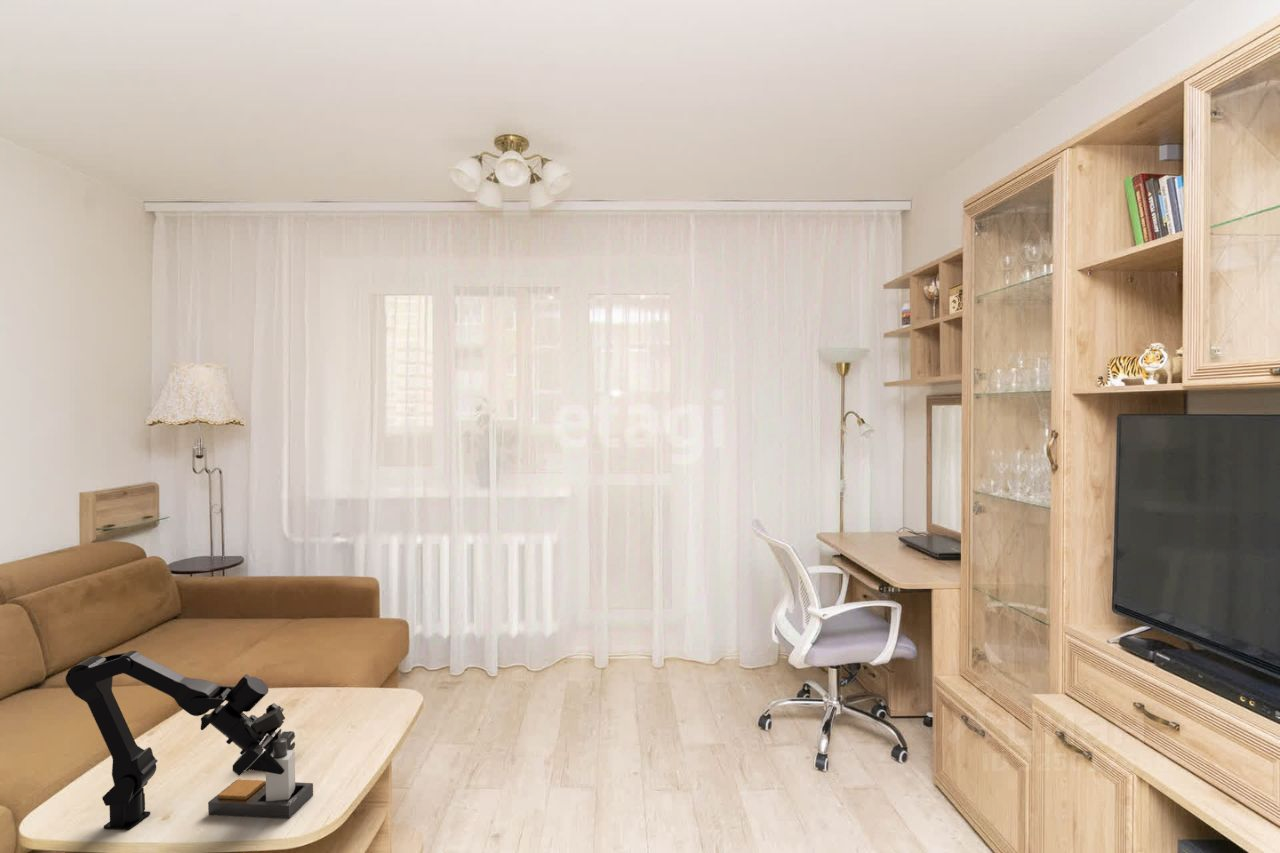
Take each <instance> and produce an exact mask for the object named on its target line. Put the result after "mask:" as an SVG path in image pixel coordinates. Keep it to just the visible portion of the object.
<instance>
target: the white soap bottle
mask: <svg viewBox="0 0 1280 853" xmlns="http://www.w3.org/2000/svg"><path fill="white" fill-rule="evenodd" d="M295 753H296V752H295V749H293V750H287V739H286V738H280V739H277V740H275V741H273V752H272V753H271V754H270V755H271V756H272V757H273V758H274V759H275V760H276V761H277V762H278V763H279V764H280V765H281V767H282V768H283V769H284V772H283V773H282V774H281V775H280V774H275V773H269V772H265V781H266V802H267V801H277V800H288V799H289V798H290V797H291V795H292V793H293V791H294V790H295V782H296V762H295V761H296V756H295Z"/></svg>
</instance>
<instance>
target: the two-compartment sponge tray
mask: <svg viewBox="0 0 1280 853" xmlns="http://www.w3.org/2000/svg"><path fill="white" fill-rule="evenodd" d="M313 796H314V783H313V782H297V781H295V790H294V791H293V793H292V795H291V797H290V798H289V799H288V800H277V801H267V802H266V779H265V780H264V779H242V778H241V779H240V778H239V779H236V780H234V781H233V782H232V783H231V784H229V785H228V786H227V787H225V788H224V789H223V790H222V791H221V792H220V793H218V794H216V795H215V796H214V797H212V798H211V799H210V800H209V801H207V802H208V803H207V805H208V806H207V808H208V816H221V817H222V816H223V817H225V816H227V817H245V818H246V817H247V818H248V817H249V818H264V819H265V818H268V819H269V818H270V819H286V820H287V819H289V820H290V818H292V816H294V814H296V813H297V812H298V811H299V810H300V809H301V808H302V807H303V806H304V805H305V804H306V803H307V802H308V801H310V799H311V798H312V797H313Z"/></svg>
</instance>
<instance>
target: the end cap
mask: <svg viewBox="0 0 1280 853" xmlns="http://www.w3.org/2000/svg"><path fill="white" fill-rule="evenodd" d="M295 737H296V734H295V732H294V731H293V730H292V731H291V730H289V731H285V730H284V731H281V736H280V738H286V739H287V750H295V747H296V743H295V741H293V740H294V739H296V738H295ZM292 741H293V742H292Z"/></svg>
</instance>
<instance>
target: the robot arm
mask: <svg viewBox="0 0 1280 853" xmlns="http://www.w3.org/2000/svg"><path fill="white" fill-rule="evenodd" d="M122 674H124V675H127V676H129V677H131V678H133V679H135V680H137V681H139V682H140V683H142V684H145V685H146V686H149V687H151V688H153V689H155V690H156V691H157V690H158V691H159V692H161V693H163V694H166V695H168V696H170V697H171V698H172V699H174V701H175V702H176V704H177V705H178V707H179V708H181V709H182V710H184V711H185V712H186V713H188V714H189V715H191V716H194V717H200V716H202V717H201V718H200V721H201V722H200V723H201V724H200V730H201V731H204V730H205V729H206V728H207V727H208V726H210V725H211V726H212V727H214V728H215V729H216V730H218V732H220V734H222V735H223V736H225V738H227V740H226V741H225V742H226V743H227V745H231V744H232V743H233V744H234V745H235V746H237V747H238V748H239V749H241V751H240V752H239V754H240V756H238V758H237V760H236V761H234V763H233V764H232V772H233V773H235V775H237V776H238V777H240V776H241V775H242V774H243V773H244V772H245V771H247V772H249V771H256V772H262V773H263V772H265V773H266V772H269V773H275V774H280V775H281V774H282V773H283V772H284V769H283V768H282V767H281V765H280V764H279V763H278V762H277V761H276V760H275V759H274V758H273V757H272V756H271V755H270V754H271V753H272V752H273V741H275V740H277V739H280V736H281V733H282V728H281V727H282V725H283V724H284V723H285V722H284V720H285V719H286V716H284V713H283V712H284V707H281V706H280V705H278V704H276V703H275V702H274V703H271V704H269V705H268V706H267V707H266V710H265V712H264V713H263V714H262V715H261V716H259V717H257V716H256V715H255V714H251V715H249V716H248V715H247V714H245V713H248V712H250V711H251V710H252V709H254V708H255V706H256V705H257V704H258V703H259V702H261V700H262V699H263V698H264V697H265V696H266V695H267V694H268V693H269V687H268V685H267V684H266V683H265V681H264V680H263V679H259V677H256V676H255V677H254V676H250V675H249V674H247V673H246V674H244V676H242V678H240V680H239V681H238V683H236V684H235V686H228V685H227V686H226V685H219V684H217V683H215V682H212V681H208V680H205V679H202V678H190V677H189V676H188V677H187V676H184V675H182V674H180V673H179V672H176V671H174V670H172V669H171V668H168V667H166V666H165V665H162V664H160V663H158V662H156V661H154V660H152V659H151V658H148V657H146V656H144V655H142V654H141V653H140V652H139V651H137V650H130V651H127V652H122V653H115V654H110V655H107V656H100V655H93V656H90V657H88V658H86V659H84V660H83V661H81V662H79V663H77V664H76V665H74V666H72V667H71V668H70V669H69V670H68V671H67V674H66V675H65V683H66V685H67V686H68V688H69V689H70V691H71V692H72V693H73V695H74V696H75V697H77V698H79V699H80V700H82V701H83V702H85V703H86V705H87V706H88V708H89V710H90V713H91V714H92V717H93V719H94V721H95V723H96V726H97V728H98V730H99V732H100V734H101V737H102V738H103V741H104V743H105V745H106V747H107V750H108V752H109V753H110V756H111V758H112V763H111V764H112V766H111V777H112V781H113V784H114V785H113V786H112V787H111V788H110V789H109V790H108V791H107V792H106V793H105V794H104V795H103V796H102V801H103V804H104V805H105V807H107V806H109V821H108V822H107V823H106V824H104V825H103V829H106V830H107V829H108V830H109V829H111V830H112V829H113V830H130V829H132V828H134V827H135V826H136V825H138V824H139V823H140V822H142V821H143V820H145V819H146V818H147V817H149V815H151V811H149V810H146V798H145V797H146V794H145V792H144V787H146V785H148V783H149V780H151V779H152V778H153V776H154V775H155V773H156V771H157V762H158V759H156V758H155V756H154V753H153V749H152V748H151V746H149V747H147V748H144V749H143V748H142V747H140V746H138V744H137V743H136V741H135V738H134V737H133V734H132V732H131V730H130V727H129V726H128V723H127V721H126V718H125V717H124V714H123V711H122V710H121V708H120V706H119V704H118V702H117V700H116V697H115V695H114V693H113V690H112V688H113V677H116V676H118V675H122ZM224 702H226V703H225V705H224V704H223V703H224ZM210 710H212V711H211V712H210V713H208V712H209V711H210ZM279 728H280V729H279ZM277 729H279V730H278V731H277Z"/></svg>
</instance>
